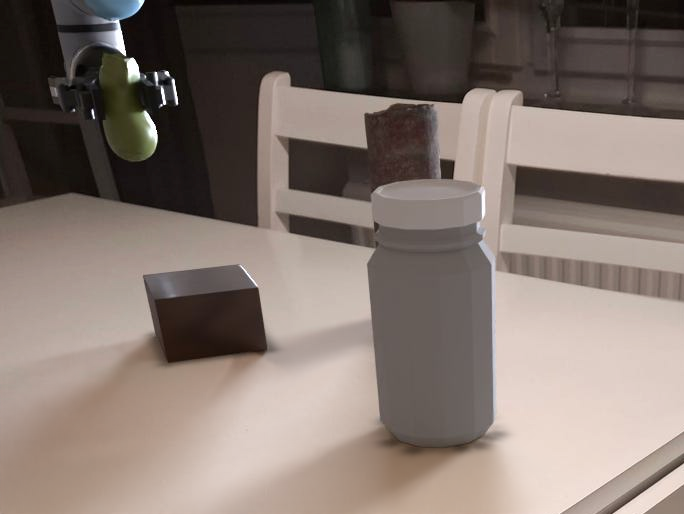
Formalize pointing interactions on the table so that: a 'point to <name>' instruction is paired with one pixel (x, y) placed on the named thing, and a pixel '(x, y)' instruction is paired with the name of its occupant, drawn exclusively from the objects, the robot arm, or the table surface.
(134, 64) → the pear
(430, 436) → the jar
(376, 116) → the candle
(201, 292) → the block
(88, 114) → the robot arm
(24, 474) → the table surface
